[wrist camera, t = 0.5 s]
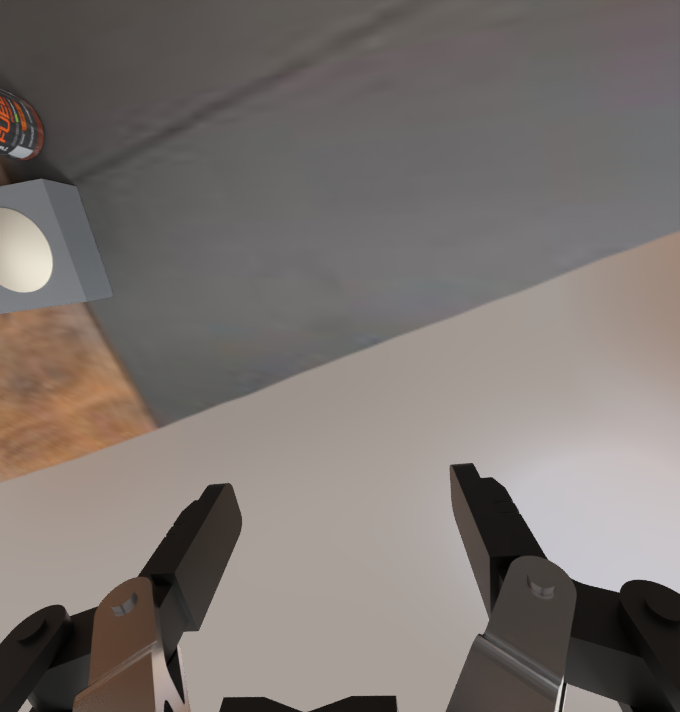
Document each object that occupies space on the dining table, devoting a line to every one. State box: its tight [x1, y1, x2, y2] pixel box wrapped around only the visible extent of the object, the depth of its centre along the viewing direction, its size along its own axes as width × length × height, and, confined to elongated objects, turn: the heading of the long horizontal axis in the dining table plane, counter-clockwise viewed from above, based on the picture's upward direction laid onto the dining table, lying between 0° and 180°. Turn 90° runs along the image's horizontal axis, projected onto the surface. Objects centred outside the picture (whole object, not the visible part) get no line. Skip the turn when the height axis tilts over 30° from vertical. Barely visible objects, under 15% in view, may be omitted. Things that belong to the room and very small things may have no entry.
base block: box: [0, 179, 114, 314], centre depth 36 cm, size 12×12×4 cm
